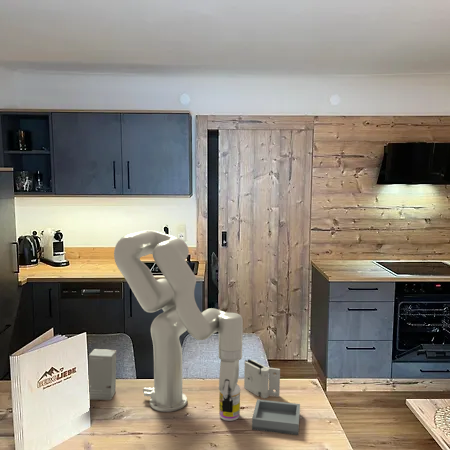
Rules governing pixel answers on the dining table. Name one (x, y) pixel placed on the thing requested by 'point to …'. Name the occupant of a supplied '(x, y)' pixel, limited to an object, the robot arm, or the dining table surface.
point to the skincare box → (102, 374)
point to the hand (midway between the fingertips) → (229, 405)
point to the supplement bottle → (236, 405)
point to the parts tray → (276, 417)
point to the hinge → (261, 379)
